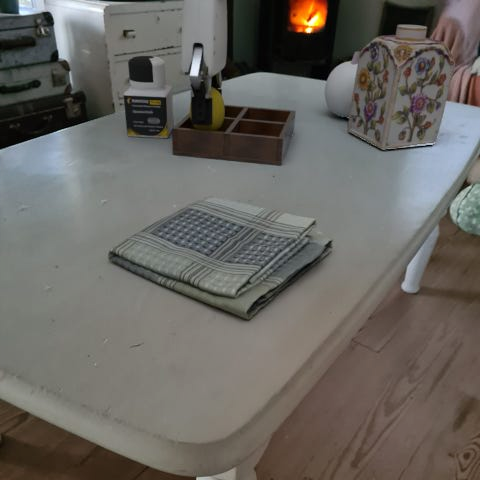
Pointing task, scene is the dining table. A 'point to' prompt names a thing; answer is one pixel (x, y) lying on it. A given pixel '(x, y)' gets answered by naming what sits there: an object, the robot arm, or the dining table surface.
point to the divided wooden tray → (238, 136)
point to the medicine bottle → (148, 99)
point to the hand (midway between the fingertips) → (206, 118)
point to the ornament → (341, 87)
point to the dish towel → (224, 253)
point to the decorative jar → (401, 88)
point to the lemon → (214, 112)
